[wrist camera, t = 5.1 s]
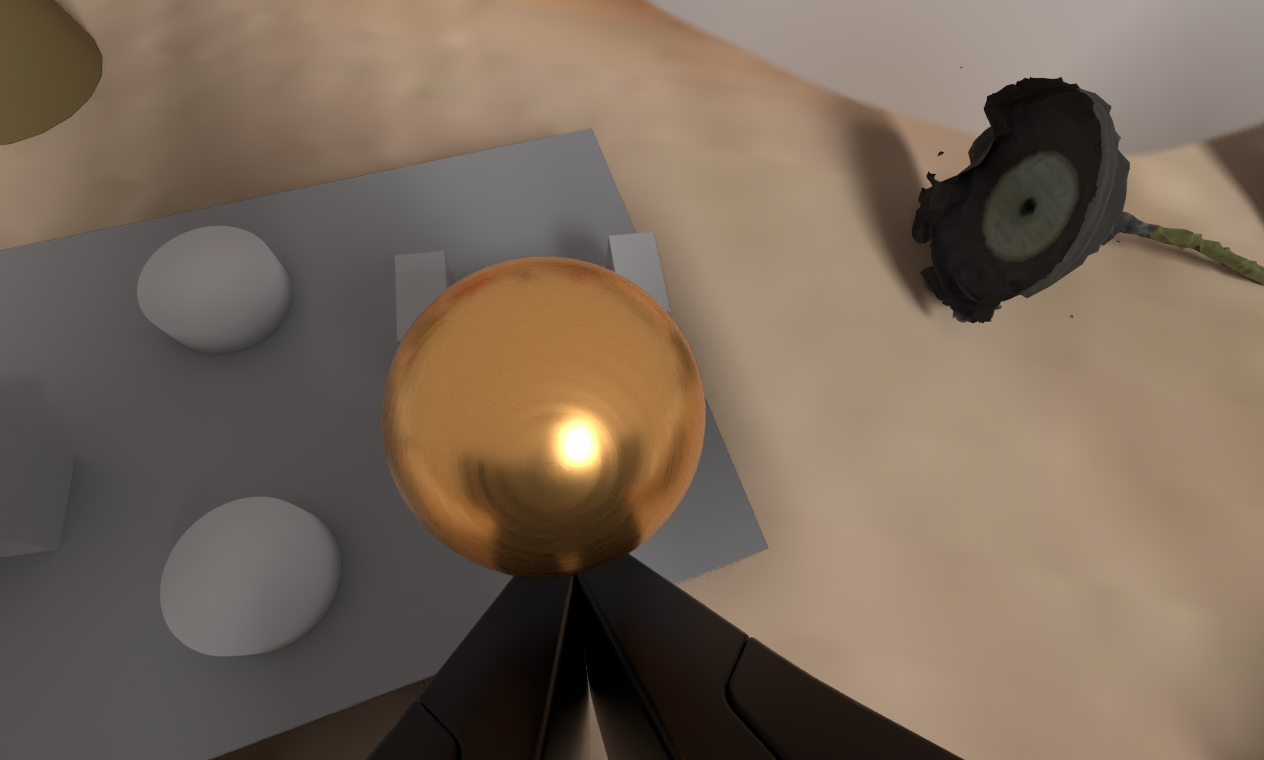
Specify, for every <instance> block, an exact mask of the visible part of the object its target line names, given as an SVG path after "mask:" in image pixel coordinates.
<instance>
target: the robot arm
mask: <svg viewBox="0 0 1264 760" xmlns="http://www.w3.org/2000/svg"><path fill="white" fill-rule="evenodd" d="M584 652H585V653H584ZM585 660H586V661H585ZM586 667H587V670H586ZM587 675H588V678H587ZM588 681H589V687H590V693H591V698H592V702H593V706H594V710H595V714H596V717H597V721H598V724H599V728H600V732H601V735H602V739H603V742H604V746H605V750H606V753H607V757H608V760H964V759H962V758H960V757H958V756H957V755H955V754H953V753H951V752H949V751H947V750H945V749H944V748H942V747H940V746H938V745H936V744H934V743H932V742H931V741H929V740H927V739H925V738H923V737H921V736H920V735H918V734H916V733H914V732H912V731H910V730H908V729H907V728H905V727H903V726H901V725H899V724H897V723H896V722H894V721H892V720H890V719H888V718H886V717H884V716H883V715H881V714H879V713H877V712H875V711H873V710H872V709H870V708H868V707H866V706H864V705H862V704H861V703H859V702H857V701H855V700H853V699H852V698H850V697H848V696H846V695H845V694H843V693H841V692H839V691H838V690H836V689H834V688H832V687H831V686H829V685H827V684H825V683H824V682H822V681H820V680H818V679H817V678H815V677H813V676H812V675H810V674H809V673H807V672H805V671H804V670H802V669H801V668H799V667H798V666H796V665H794V664H793V663H791V662H790V661H788V660H787V659H785V658H784V657H782V656H780V655H779V654H777V653H776V652H774V651H773V650H771V649H770V648H768V647H767V646H765V645H764V644H762V643H761V642H760V641H758V640H757V639H755V638H753V637H751V638H749V636H748V635H747V634H746V633H744V632H743V631H742V630H740V629H739V628H737V627H736V626H734V625H733V624H731V623H730V622H728V621H727V620H725V619H724V618H723V617H721V616H720V615H718V614H717V613H715V612H714V611H712V610H711V609H709V608H708V607H706V606H705V605H704V604H702V603H701V602H699V601H698V600H696V599H695V598H693V597H692V596H690V595H689V594H687V593H686V592H685V591H683V590H682V589H680V588H679V587H677V586H676V585H674V584H673V583H671V582H670V581H668V580H667V579H666V578H664V577H663V576H661V575H660V574H658V573H657V572H655V571H654V570H652V569H651V568H649V567H648V566H647V565H645V564H644V563H642V562H641V561H639V560H638V559H636V558H635V557H633V556H632V555H630V554H627V555H626V556H624V557H622V558H620V559H618V560H616V561H614V562H612V563H610V564H608V565H606V566H603V567H601V568H598V569H595V570H592V571H589V572H586V573H581V574H577V575H573V576H567V577H558V578H525V577H518V576H513V577H512V579H511V580H510V581H509V582H508V584H507V585H506V586H505V587H504V589H503V590H502V591H501V593H500V594H499V595H498V596H497V598H496V599H495V600H494V601H493V603H492V604H491V605H490V606H489V608H488V609H487V610H486V611H485V613H484V614H483V615H482V617H481V618H480V619H479V620H478V622H477V623H476V624H475V625H474V627H473V628H472V629H471V630H470V632H469V633H468V634H467V635H466V637H465V638H464V639H463V641H462V642H461V643H460V644H459V646H458V647H457V648H456V649H455V651H454V652H453V653H452V654H451V656H450V657H449V658H448V659H447V661H446V662H445V663H444V665H443V666H442V667H441V668H440V670H439V671H438V672H437V673H436V675H435V676H434V677H433V678H432V680H431V681H430V682H429V683H428V685H427V686H426V687H425V689H424V690H423V691H422V692H421V694H420V695H419V696H418V697H417V700H416V702H412V703H411V704H410V706H409V707H408V708H407V709H406V711H405V712H404V713H403V714H402V716H401V717H400V718H399V719H398V721H397V722H396V723H395V725H394V726H393V727H392V728H391V729H390V731H389V732H388V733H387V734H386V735H385V737H384V738H383V739H382V740H381V741H380V743H379V744H378V745H377V746H376V747H375V749H374V750H373V751H372V752H371V753H370V754H369V756H368V757H367V758H366V759H365V760H589V721H590V710H589V688H588Z"/></svg>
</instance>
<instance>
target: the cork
mask: <svg viewBox="0 0 1264 760" xmlns="http://www.w3.org/2000/svg"><path fill="white" fill-rule="evenodd" d="M101 71H102V55H101V53H100V51H99V49H98V47H97V44H96V42H95V40H94V39H93V38H92V37H91V36H90V35H89V34H88V33H87V32H86V31H85V30H84V29H83V28H82V27H81V26H80V25H79V24H78V23H77V22H76V21H75V20H74V19H73V18H72V17H71V16H70V15H69V14H68V13H67V12H66V11H65V10H64V9H63V8H62V7H61V6H60V5H58V4H57V3H56V2H55V1H54V0H0V145H3V144H10V143H13V142H16V141H19V140H22V139H25V138H28V137H31V136H34V135H37V134H40V133H43V132H45V131H46V130H48V129H50V128H52V127H53V126H55V125H57V124H58V123H60V122H62V121H64V120H65V119H67V118H69V117H70V116H71V115H72V114H73V113H74V112H75V111H77V110H78V109H79V108H80V107H81V106H82V105H83V104H84V103H85V102H86V101H87V100H88V99H89V98H90V97H91V95H92V93H93V91H94V89H95V87H96V85H97V83H98V82H99V80H100V78H101Z"/></svg>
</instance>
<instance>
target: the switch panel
mask: <svg viewBox="0 0 1264 760" xmlns="http://www.w3.org/2000/svg"><path fill="white" fill-rule="evenodd" d="M540 256H554V257H564V258H573V259H577V260H581V261H585V262H589V263H593V264H596V265H599V266H601V267H604V268H606V269H609V270H611V271H614V272H616V273H617V274H619V275H621V276H623V277H625V278H626V279H628V280H630V281H632V282H633V283H634V284H636V285H637V286H639V287H640V288H641V289H643V290H644V291H645V292H647V293H648V294H649V295H650V296H651V297H652V298H654V299H655V300H656V301H657V302H658V303H659V304H660V305H661V306H662V307H663V308H664V309H665V310H666V311H667V313H668V314H669V315H670V306H669V302H668V297H667V293H666V288H665V283H664V279H663V274H662V270H661V265H660V260H659V256H658V251H657V246H656V242H655V237H654V233H653V232H645V233H636V232H635V230H634V227H633V225H632V223H631V220H630V218H629V215H628V213H627V211H626V208H625V206H624V204H623V201H622V199H621V196H620V194H619V192H618V189H617V187H616V184H615V182H614V180H613V177H612V175H611V173H610V170H609V168H608V165H607V163H606V161H605V158H604V156H603V154H602V151H601V149H600V146H599V144H598V142H597V139H596V137H595V135H594V132H593V130H592V128H591V129H586V130H581V131H576V132H571V133H566V134H562V135H557V136H552V137H547V138H542V139H537V140H533V141H528V142H523V143H518V144H513V145H508V146H503V147H499V148H494V149H489V150H484V151H479V152H474V153H470V154H465V155H460V156H455V157H450V158H445V159H441V160H436V161H431V162H426V163H421V164H416V165H412V166H407V167H402V168H397V169H392V170H387V171H383V172H378V173H373V174H368V175H363V176H358V177H353V178H349V179H344V180H339V181H334V182H329V183H324V184H320V185H315V186H310V187H305V188H300V189H295V190H291V191H286V192H281V193H276V194H271V195H266V196H262V197H257V198H252V199H247V200H242V201H237V202H233V203H228V204H223V205H218V206H213V207H208V208H203V209H199V210H194V211H189V212H184V213H179V214H174V215H170V216H165V217H160V218H155V219H150V220H145V221H141V222H136V223H131V224H126V225H121V226H116V227H112V228H107V229H102V230H97V231H92V232H87V233H83V234H78V235H73V236H68V237H63V238H58V239H53V240H49V241H44V242H39V243H34V244H29V245H24V246H20V247H15V248H10V249H5V250H0V760H211V759H214V758H217V757H219V756H222V755H225V754H227V753H230V752H233V751H235V750H238V749H241V748H243V747H246V746H249V745H251V744H254V743H256V742H259V741H262V740H264V739H267V738H270V737H272V736H275V735H278V734H280V733H283V732H286V731H288V730H291V729H294V728H296V727H299V726H302V725H304V724H307V723H310V722H312V721H315V720H318V719H320V718H323V717H325V716H328V715H331V714H333V713H336V712H339V711H341V710H344V709H347V708H349V707H352V706H355V705H357V704H360V703H363V702H365V701H368V700H371V699H373V698H376V697H379V696H381V695H384V694H387V693H389V692H392V691H395V690H397V689H400V688H402V687H405V686H408V685H410V684H413V683H416V682H418V681H421V680H424V679H426V678H429V677H432V676H434V675H436V673H437V672H438V671H439V670H440V668H441V667H442V666H443V665H444V663H445V662H446V661H447V659H448V658H449V657H450V656H451V654H452V653H453V652H454V651H455V649H456V648H457V647H458V646H459V644H460V643H461V642H462V641H463V639H464V638H465V637H466V635H467V634H468V633H469V632H470V630H471V629H472V628H473V627H474V625H475V624H476V623H477V622H478V620H479V619H480V618H481V617H482V615H483V614H484V613H485V611H486V610H487V609H488V608H489V606H490V605H491V604H492V603H493V601H494V600H495V599H496V598H497V596H498V595H499V594H500V593H501V591H502V590H503V589H504V587H505V586H506V585H507V584H508V582H509V581H510V580H511V579H512V577H513V576H511V575H507V574H503V573H499V572H495V571H492V570H489V569H487V568H484V567H481V566H479V565H476V564H474V563H472V562H470V561H469V560H467V559H465V558H463V557H461V556H459V555H457V554H456V553H454V552H453V551H451V550H450V549H449V548H447V547H446V546H444V545H443V544H442V543H440V542H439V541H438V540H436V539H435V538H434V537H433V536H432V535H431V534H430V533H429V532H428V531H427V530H426V529H425V528H424V527H423V526H422V525H421V524H420V522H419V521H418V520H417V519H416V518H415V516H414V515H413V514H412V513H411V511H410V510H409V508H408V506H407V505H406V503H405V502H404V500H403V498H402V497H401V495H400V493H399V491H398V489H397V487H396V484H395V482H394V479H393V477H392V475H391V472H390V470H389V467H388V463H387V460H386V456H385V452H384V448H383V440H382V431H381V410H382V398H383V392H384V386H385V380H386V377H387V374H388V371H389V367H390V364H391V361H392V358H393V356H394V354H395V352H396V350H397V348H398V346H399V344H400V342H401V340H402V338H403V337H404V335H405V334H406V332H407V331H408V329H409V328H410V326H411V325H412V323H413V322H414V321H415V319H416V318H417V317H418V316H419V315H420V314H421V312H422V311H423V310H424V309H425V308H426V307H427V306H428V305H429V304H430V302H431V301H433V300H434V299H435V298H436V297H437V296H439V295H440V294H441V293H442V292H443V291H444V290H446V289H447V288H448V287H450V286H451V285H453V284H454V283H456V282H458V281H459V280H461V279H462V278H464V277H465V276H467V275H469V274H472V273H474V272H476V271H478V270H480V269H483V268H485V267H487V266H490V265H494V264H497V263H500V262H504V261H507V260H512V259H519V258H525V257H540ZM670 316H671V315H670ZM704 398H705V396H704ZM705 405H706V425H705V433H704V440H703V447H702V452H701V456H700V459H699V463H698V467H697V470H696V472H695V475H694V477H693V479H692V482H691V484H690V487H689V488H688V490H687V492H686V494H685V495H684V497H683V499H682V501H681V503H680V504H679V505H678V507H677V508H676V509H675V511H674V512H673V513H672V515H671V516H670V517H669V519H668V520H667V521H666V522H665V523H664V524H663V525H662V526H661V527H660V528H659V529H658V530H657V532H656V533H655V534H654V535H653V536H651V537H650V538H649V539H648V540H647V541H645V542H644V543H643V544H642V545H641V546H639V547H638V548H636V549H635V550H633V551H632V552H630V553H629V554H630V555H632V556H633V557H635V558H636V559H638V560H639V561H641V562H642V563H644V564H645V565H647V566H648V567H649V568H651V569H652V570H654V571H655V572H657V573H658V574H660V575H661V576H663V577H664V578H666V579H667V580H668V581H670V582H671V583H673V584H674V585H676V584H679V583H681V582H684V581H686V580H689V579H692V578H694V577H697V576H700V575H702V574H705V573H708V572H710V571H713V570H716V569H718V568H721V567H724V566H726V565H729V564H732V563H734V562H737V561H740V560H742V559H744V558H747V557H749V556H751V555H754V554H756V553H758V552H761V551H763V550H765V549H768V546H767V543H766V541H765V539H764V536H763V534H762V532H761V529H760V527H759V524H758V522H757V520H756V517H755V515H754V513H753V510H752V508H751V505H750V503H749V501H748V498H747V496H746V494H745V491H744V489H743V486H742V484H741V482H740V479H739V477H738V475H737V472H736V470H735V467H734V465H733V463H732V460H731V458H730V456H729V453H728V451H727V448H726V446H725V444H724V441H723V439H722V437H721V434H720V432H719V429H718V427H717V425H716V422H715V420H714V417H713V415H712V413H711V410H710V408H709V406H708V403H707V401H706V398H705Z"/></svg>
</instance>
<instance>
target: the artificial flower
mask: <svg viewBox="0 0 1264 760" xmlns="http://www.w3.org/2000/svg"><path fill="white" fill-rule="evenodd" d="M961 68H962V67H961ZM1110 110H1111V106H1110V105H1108V104H1107V103H1106V102H1105V101H1104V100H1103V99H1101V98H1100V97H1099V96H1098V95H1097V94H1095V93H1092V92H1089V91H1085V90H1083V89H1080V88H1079V86H1078V85H1077V84H1068V83H1065V82H1063V79H1062V78H1061V77H1060V78H1058V79H1047V78H1031V77H1030V79H1027V78H1024V79H1023V80H1021V81H1017V83H1016V85H1014V84H1011V85H1007V86H1005V87H1004V88H1003V89H1001V90H1000V91H999V92H997V93H993V94H992V95H989V96H988V97H987V101H986V104H985V107H984V111H985V114H986V116H987V118H988V120H989V123H990V125H991V127H989V128H988V129H986V130H985V131H984V132H983V133H982V134H981V135H980V136H979V137H978V138H977V139H976V140H975V141H974V142H973V144H972V146H971V148H970V150H969V152H968V153H969V158H970V162H971V165H969V166H968V167H967V168H966V169H964V170H963V171H962V172H961V173H959V174H958V175H957V176H954V177H952V178H949V179H947V180H944V181H942V182H939V181H937V180H935V178H934V177H935V175H936V174H931V173H930V172H929V171H928V174H927V179H928V180H929V181H930V182H931V184H932V187H930V188H928V189H925V188H922V191H921V193H920V196H919V203H921V206H920V208H919V209H918V210H917V211H916V217H915V220H914V224H913V229H912V236H913V238H914V240H915V241H916V242H917V243H926V242H928V241H929V240H930V239H931V238H932V242H931V246H930V247H931V257H932V263H933V266H932V267H927V268H925V269H923V270H922V271H921V272H920V273H922V274H924V275H925V276H926V277H927V278H928V279H929V284H930V287H931V288H934V289H932V290H933V292H934V294H935V295H936V297H937V298H938V299H939V300H942V301H943V303H942V304H945V305H946V306H951V307H950V308H951V309H952V310H953V318H954V317H955V316H956V319H957V320H958V321H960V322H963V323H964V322H966V321H968V322H971V323H975V322H977V321H978V322H979V323H980V322H981V323H984V322H988V321H991V318H992V317H993V314H994V310H998V309H1000V308H1002V307H1001V306H1000V305H999V304H1000V302H1001V301H1006V300H1008V299H1011V298H1013V297H1015V296H1017V295H1022V296H1024V297H1026V298H1029V297H1031V296H1032V295H1034V294H1036V293H1038V292H1040V291H1042V290H1044V289H1046V288H1048V287H1049V286H1051V285H1052V284H1054V283H1055V282H1057V281H1058V280H1060V279H1061V278H1063V277H1064V276H1066V275H1067V274H1069V273H1070V272H1072V271H1073V270H1075V269H1076V268H1077V267H1079V266H1080V265H1082V264H1083V263H1084V261H1085V259H1086V258H1087V256H1089V255H1091V254H1093V253H1095V252H1098V250H1099V248H1100V246H1101V244H1102V245H1105V244H1106V243H1107V242H1108V241H1110V240H1111V239H1112V238H1114V236H1115V235H1116V234H1118V233H1119V232H1123V233H1128V234H1138V235H1139V236H1140V237H1145V238H1150V239H1153V240H1156V241H1160V242H1162V243H1166V244H1171V245H1177V246H1178V247H1179V248H1180V249H1181V250H1182V249H1184V248H1192V249H1194V250H1196V251H1198V252H1200V253H1202V254H1204V255H1206V256H1208V257H1210V258H1212V259H1214V260H1217V261H1219V262H1220V263H1221V264H1222V265H1224V266H1226V267H1228V268H1230V269H1233V270H1235V271H1237V272H1239V273H1240V274H1242V275H1243V276H1245V277H1248V278H1250V279H1253V280H1255V281H1257V282H1258V283H1260V284H1261V285H1264V267H1263V266H1260V265H1258V264H1257V262H1256V261H1249V260H1247V259H1245V258H1243V257H1241V256H1238V255H1236V254H1234V253H1233V252H1231V251H1230V248H1229V247H1228V248H1223V247H1222V246H1221V244H1220V243H1219V242H1215V241H1209V240H1204V239H1202V234H1193V232H1190V231H1188V230H1185V229H1171V228H1164V227H1161V226H1159V225H1152V224H1146V223H1144V222H1142V221H1140V220H1138V219H1137V218H1135V217H1134V216H1133V215H1131V214H1129V213H1127V212H1123V211H1122V210H1123V208H1124V203H1125V198H1126V190H1127V178H1128V173H1129V169H1130V162H1129V161H1128V160H1127V159H1126V158H1125V157H1124V156H1123V155H1122V154H1121V152H1120V151H1119V150H1118V143H1119V140H1120V138H1121V137H1120V136H1119V135H1118V134H1117V133H1116V131H1115V128H1114V124H1113V121H1112V118H1111V116H1110V114H1109V113H1110ZM943 153H944V152H942V151H941V152H939V154H938V156H940V155H942V154H943ZM1118 242H1120V241H1118ZM1070 317H1071V318H1073V315H1071V316H1070Z"/></svg>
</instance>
